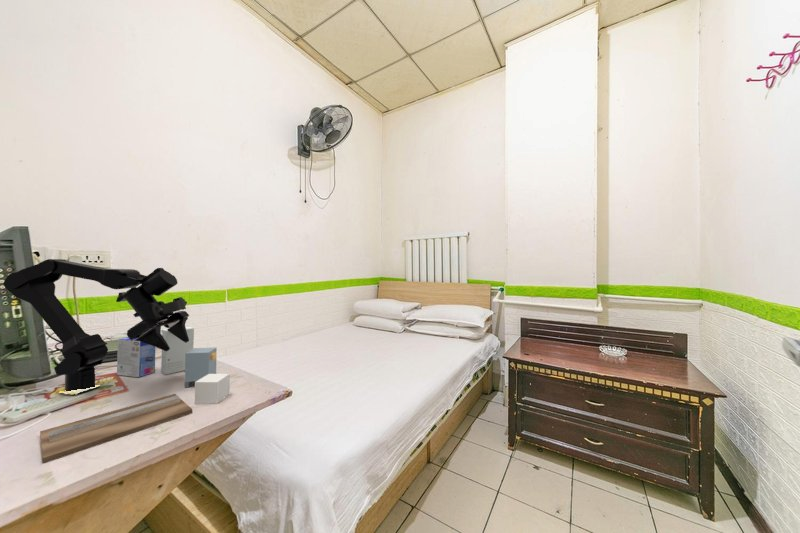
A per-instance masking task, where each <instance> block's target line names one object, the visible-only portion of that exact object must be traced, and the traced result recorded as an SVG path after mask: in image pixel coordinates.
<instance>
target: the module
mask: <svg viewBox="0 0 800 533" xmlns="http://www.w3.org/2000/svg"><path fill="white" fill-rule="evenodd" d="M217 349H218V348H217V346H215V347H193V349H192V350H190V351H189V352H187V353H185V370H184V373H185V374H184V388H186V389H187V388H190V387H191V386H192V385H193V384H194V385H195V382H196V381H198V380H199V379H201V378H203V377H204V376H206V375H208V374H217Z"/></svg>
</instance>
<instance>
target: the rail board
mask: <svg viewBox="0 0 800 533" xmlns="http://www.w3.org/2000/svg"><path fill="white" fill-rule="evenodd" d="M190 414H193V408H192V407H191V406H190V405H188V403H186V402H185V401H184V400H183V399H182V398H181V397H180V396H179V395H177V393H172V394H168V395H164V396H161V397H158V398H154V399H151V400H146V401H144V402H140V403H139V402H138V403H137V404H134V405H133V404H132V405H129V406H126V407H122V408H119V409H116V410H111V411H107V412H104V413H101V414H97V415H94V416H90V417H87V418H83V419H80V420H75V421H72V422H69V423H65V424H62V425H59V426H54V427H51V428H47V429H43V430H40V432H39V435H40V436H39V438H40V448H41V450H40V451H41V461H42V464H44V463H47V462H51V461H54V460H57V459H60V458H63V457H66V456H69V455H71V454H75V453H77V452H80V451H83V450H86V449H89V448H93V447H96V446H99V445H102V444H104V443H107V442H111V441H113V440H116V439H119V438H122V437H125V436H128V435H131V434H134V433H137V432H140V431H143V430H146V429H149V428H152V427H155V426H158V425H161V424H163V423H166V422H170V421H172V420H175V419H179V418H182V417H185V416H187V415H190Z"/></svg>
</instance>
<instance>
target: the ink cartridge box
mask: <svg viewBox="0 0 800 533" xmlns="http://www.w3.org/2000/svg"><path fill="white" fill-rule="evenodd" d="M137 339H138V338H137ZM116 357H117V358H116V361H117V363H116V375H118V376H124V377H135V378H141V377H144V376H147V375H151V374H154V373H155V372H156V347H154V346H152V345H149V344H146V343H144V342H141V341H136V339H134V340H130V339H129V337H128V336H126V337H123V338H118V340H117V356H116Z"/></svg>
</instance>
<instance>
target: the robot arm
mask: <svg viewBox="0 0 800 533" xmlns="http://www.w3.org/2000/svg"><path fill="white" fill-rule="evenodd" d="M62 276H67V277H72V278H78V279H85V280H90V281H95V282H97V283H99V284H100V285H102V286H104V287H106V288H110V289H113V290H124V289H128V290H127V291H122V292H118V296H117V297H116V303H119V302H120V303H121V302H127V303H128V304H129V306H130V307H131V308H132V309H133V310H134V312H135V313H133V317H135V318H140V319H141V321H139V322H137V323H136V324H135V325H133V326H132V327H131V328H129V329H127V332H126V337H129V339H130V340H134V339H136V341H141V342H144V343H146V344H149V345H152V346H154V347H155V348H157V349H159V350H161V351H162V350H164V351H168V350H170V347H169V346H168V344H167V342H166V341H165V339H164V338H163V336H162V333H161V331H162V329H161V328H162V327H165V329H167V330H168V331H169V332H170V333H172V334H173V335H175V336H176V337H178V338H179V339H180V340H182V341H184V342H185V343H187V342H188V341H189V338H188V335H187V331H186V328H185V327H186V323H187V320H188V319H189V318H188V317H190V314H189V313H188V312H187V311H186V309H187V307H186V306H187V304H188V301H187V300H185V299H184V298H183V297H182V296H180V297H176V298H173V299H172V301H169V302H166V303H165V301H162V300H160V301H158V300H157V298H155V296H157V297H160V296H161V295H163V294H165V293H166V292H168V291H169V290H171V289H172V288H173V287H175V286H177V285H178V279H177V278H176V276H175V275H173V274H172V273H170V272H169V271H167V270H165V269H164V268H163V267H157V268H155V269H154V270H153V271H152V272H151V273H149V274H148V275H144V274H142V273H140V271H139V270H137V269H133V268H130V269H129V268H128V269H127V268H105V267H100V266H96V265H90V264H86V263H80V262H75V261H70V260H67V259H63V258H62V259H61V258H52V259H51V258H50V259H49V258H48V259H46V260H42V261H40V262H39V263H37V264H34V265H31V266H29V267H26V268H25V267H24V268H23V269H20V270H18V271H16V272H12V273H10V274H8V275H7V276H6V278H5V280H4V282H3V286H4V288H5V290H7V292H9V293H10V294H11V295H12V296H13V297H14V298H17V299H19V300H21V301H24V302H26V303H29V304H30V305H31V307H33V309H34V310H35V311H36V313H38V315H39V316H40V317H41V318H42V320H43V321H44V322H45V323H46V325H48V327H49V329H50V330H51V331H52V332H53V333H54V334H55V335H56V336H57V338H58V339H59V340H60V341H61V343H62V347H61V355H62V357H63V359H62V360H61V361H60V362H59V363H58V364H57V365H56V366H54V368H53V369H54V371H55V374H56V376H58V375H59V376H61V375H62V376H63V375H64V389H65V390H66V391H71V390H77V389H86V388H90V387H95V384H96V371H95V370H96V369H95V367H96V366H100V365H102V363H103V361H104V359H105V358H106V357H107V354H108V351H109V349H108V346H107V345H108V343H107V341H104V339H103V338H102V336H101V335H100V334H98V333H96V334H88V333H86V332H85V330H83V328H82V326H80V324H79V323H78V322H77V321H76V319H75V318H74V317H73V316H72V315H71V313H70V312H69V311H68V310H67V309H66V307H65V306H64V305H63V304H62V302H61V301H60V300H59V298H57V296H56V284H55V282H57V281H59V280H60V279H61V278H62ZM168 328H169V329H168ZM137 338H138V339H137Z"/></svg>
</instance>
